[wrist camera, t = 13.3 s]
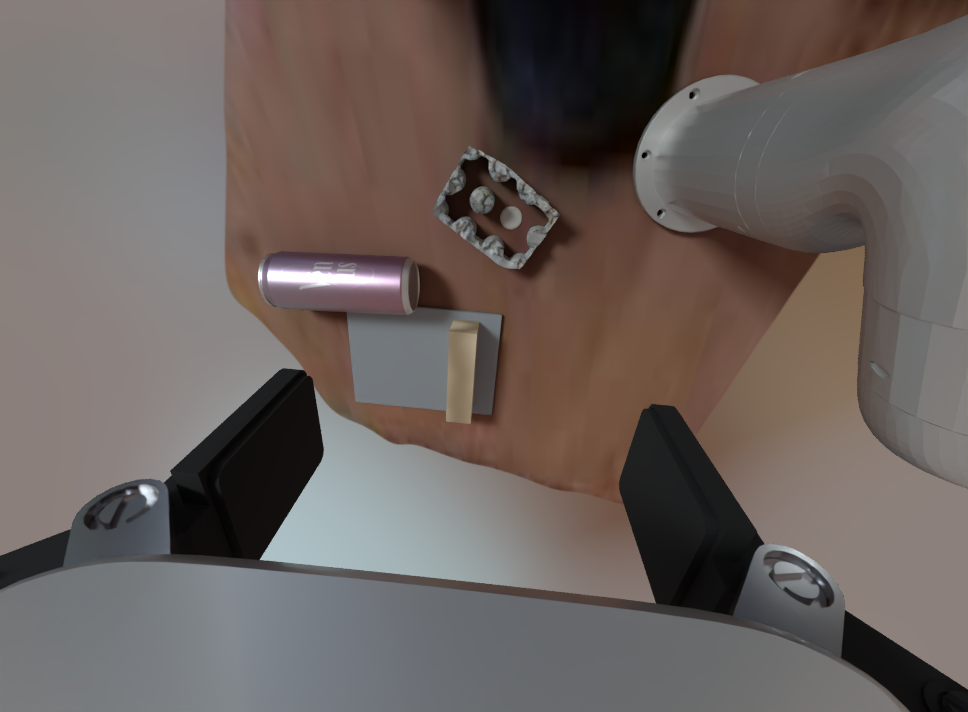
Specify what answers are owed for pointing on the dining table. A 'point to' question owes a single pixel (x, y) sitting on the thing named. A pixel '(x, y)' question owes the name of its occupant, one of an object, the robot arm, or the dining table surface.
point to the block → (461, 370)
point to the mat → (418, 357)
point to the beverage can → (340, 282)
